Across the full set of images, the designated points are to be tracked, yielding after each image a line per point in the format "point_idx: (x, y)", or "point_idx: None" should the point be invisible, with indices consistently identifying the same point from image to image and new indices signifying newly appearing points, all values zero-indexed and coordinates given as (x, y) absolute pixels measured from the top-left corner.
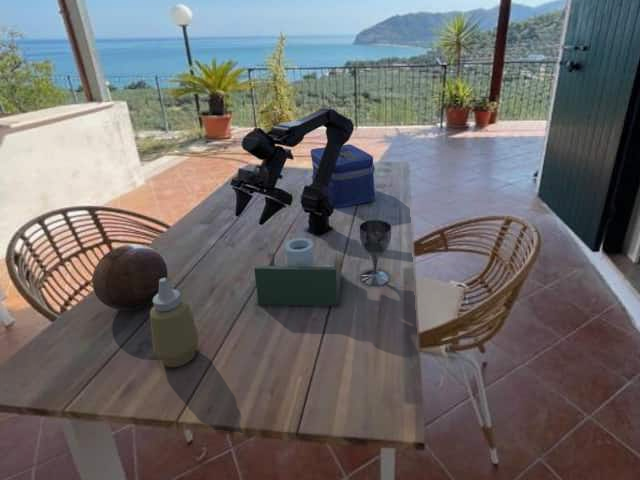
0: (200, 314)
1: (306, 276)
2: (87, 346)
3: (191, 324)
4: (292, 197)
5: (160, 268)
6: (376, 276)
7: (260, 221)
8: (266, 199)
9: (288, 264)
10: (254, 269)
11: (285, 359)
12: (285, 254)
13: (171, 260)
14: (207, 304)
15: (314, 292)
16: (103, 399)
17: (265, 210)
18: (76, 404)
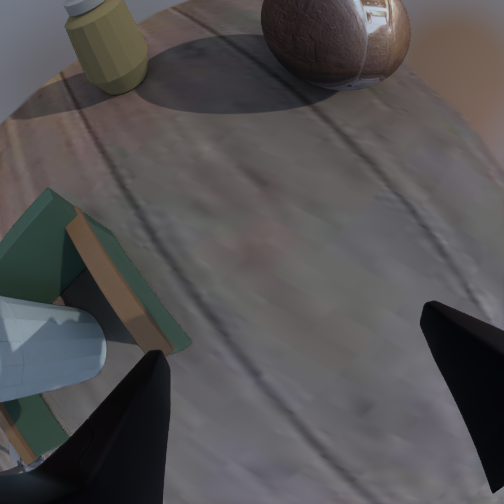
0: (189, 124)
1: None
2: (260, 18)
3: (77, 54)
4: None
5: (290, 26)
6: (18, 461)
7: (141, 361)
8: (14, 499)
9: (12, 298)
10: (49, 188)
11: (3, 191)
12: (2, 300)
13: (459, 182)
14: (210, 146)
15: None
16: (148, 24)
17: (88, 433)
18: (167, 11)
